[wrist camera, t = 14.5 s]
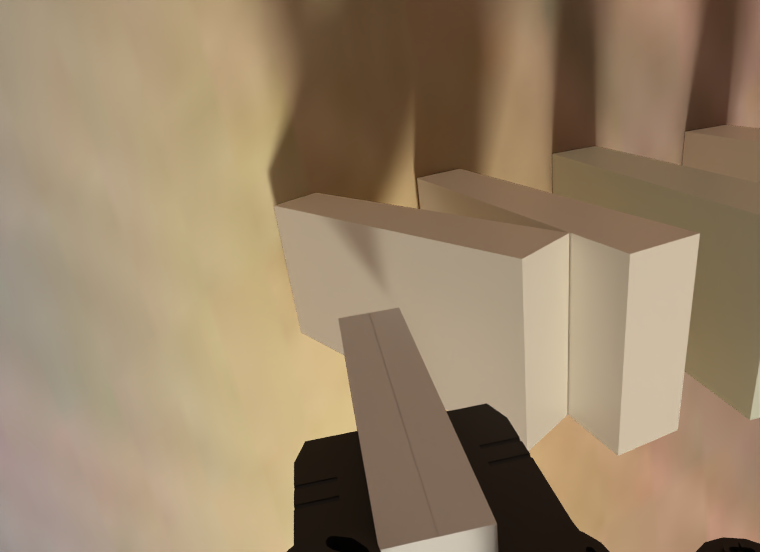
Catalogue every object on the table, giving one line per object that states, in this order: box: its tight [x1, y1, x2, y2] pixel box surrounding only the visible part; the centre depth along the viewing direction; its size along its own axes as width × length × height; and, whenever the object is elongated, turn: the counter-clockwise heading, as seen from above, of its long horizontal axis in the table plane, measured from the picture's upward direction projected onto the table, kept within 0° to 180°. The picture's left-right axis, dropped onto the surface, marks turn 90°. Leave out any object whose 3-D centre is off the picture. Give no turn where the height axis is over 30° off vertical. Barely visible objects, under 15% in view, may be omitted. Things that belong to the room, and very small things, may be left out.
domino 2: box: [417, 169, 700, 456], centre depth 16 cm, size 2×5×10 cm, turn 7°
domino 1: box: [274, 193, 569, 451], centre depth 16 cm, size 2×5×10 cm
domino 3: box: [552, 146, 760, 420], centre depth 16 cm, size 2×5×10 cm, turn 8°
